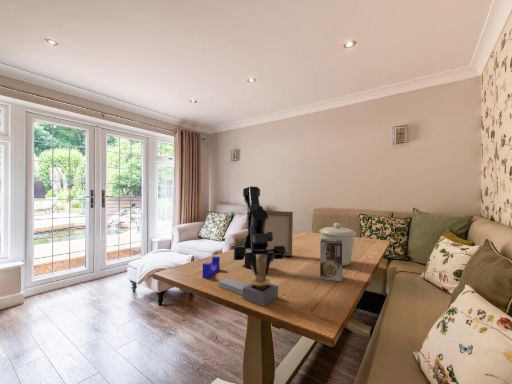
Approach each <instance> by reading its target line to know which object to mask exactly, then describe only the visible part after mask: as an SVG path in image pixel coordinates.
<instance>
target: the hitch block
mask: <svg viewBox="0 0 512 384" xmlns="http://www.w3.org/2000/svg"><path fill="white" fill-rule="evenodd" d="M218 288H221V289H224V290H227V291H230V292H232V293H235V294H238V295H240V296H242V299H243V300H246V301H248V302H249V303H252V304H255V305H258V306H261V307H265V306H267V305H268V304H270V303H271V302H273V301H274V300H276V299H277V298H278V297H279V286H278V285H276V284H274V283H271V282H270V283H269V284H268V285H266V290H264V291H260V290H257V289H256V285H254V284H252V282H251V283H249V284H247V283H245V282H242V281H239V280H236V279H232V278H230V277H226V278H224V279H222V280H218Z"/></svg>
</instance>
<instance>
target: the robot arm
mask: <svg viewBox="0 0 512 384" xmlns="http://www.w3.org/2000/svg"><path fill="white" fill-rule="evenodd" d="M242 197H243V198H244V199H243V200H244V203H245V204H246V207H247V212H246V221H247V235H246V236H245V238H244V242H242V243H243V245H236V246H234V248H233V260H234V261H243V260H244V264H242V267H244V268H247V269H251V270H252V272H253V274H254V275H255V276H256V254H266V276H268V274H269V269H270V265H271V263H272V262H274V261H275V260H283V259H284V258H285V252H286V250H285V247H284V246H283V245H279V246H274V248H273V249H267V247H268V242H272V240H273V234H272V232H267V234H266V233H265V230H264V228H265V226H266V221H267V219H268V216H267V215H268V214H267V212H266V211H267V210H265V209H264V207H263V206H262V205H260V199H259V197H261V188H259V187H258V186H248V187H245V188H243V189H242Z"/></svg>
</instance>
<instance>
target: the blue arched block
mask: <svg viewBox="0 0 512 384" xmlns="http://www.w3.org/2000/svg"><path fill="white" fill-rule="evenodd" d="M220 259H221V257H220V256H212V260H211V262H209V263H207V262H206V263H205V262H203V264H202V278H203V279H210V278H211V277H212V276H214V275H215V274H216V273H217V272H218V271H219V270H221V268H220V265H221V264H220V263H221V262H220Z"/></svg>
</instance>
